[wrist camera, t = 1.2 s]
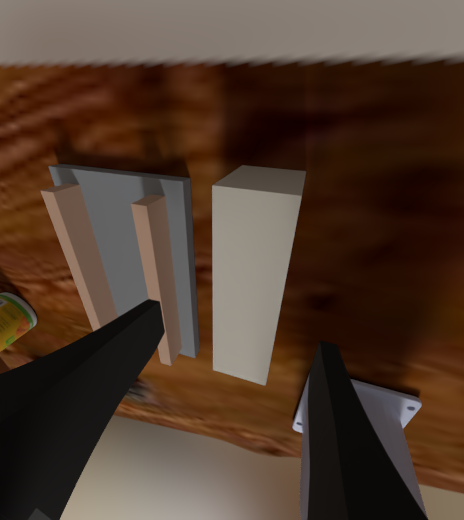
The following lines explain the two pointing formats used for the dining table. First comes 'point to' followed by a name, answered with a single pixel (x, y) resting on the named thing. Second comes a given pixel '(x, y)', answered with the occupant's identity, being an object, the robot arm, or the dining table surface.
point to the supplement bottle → (14, 318)
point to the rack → (129, 246)
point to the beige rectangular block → (251, 264)
